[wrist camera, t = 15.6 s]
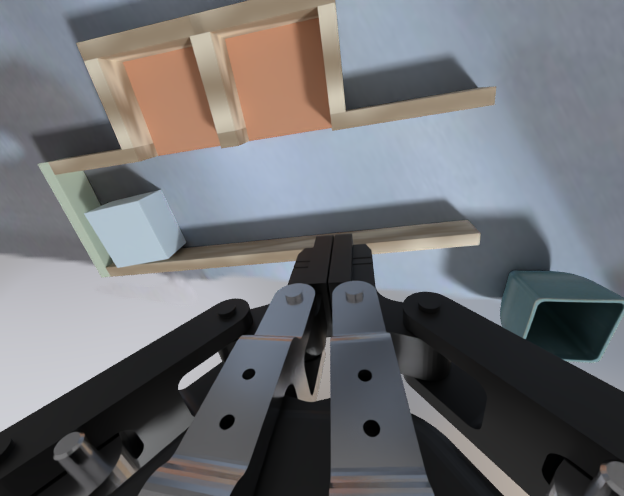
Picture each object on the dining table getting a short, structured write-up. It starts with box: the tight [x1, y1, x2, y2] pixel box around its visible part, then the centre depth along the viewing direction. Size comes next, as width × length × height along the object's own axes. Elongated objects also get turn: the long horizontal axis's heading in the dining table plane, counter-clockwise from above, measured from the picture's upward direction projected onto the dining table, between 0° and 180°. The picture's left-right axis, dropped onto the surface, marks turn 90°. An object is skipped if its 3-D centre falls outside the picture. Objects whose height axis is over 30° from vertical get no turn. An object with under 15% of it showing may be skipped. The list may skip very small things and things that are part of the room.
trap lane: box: [38, 0, 496, 277], centre depth 33 cm, size 26×50×4 cm, turn 99°
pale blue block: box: [84, 190, 186, 268], centre depth 39 cm, size 8×8×5 cm
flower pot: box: [500, 271, 624, 363], centre depth 35 cm, size 9×9×9 cm
